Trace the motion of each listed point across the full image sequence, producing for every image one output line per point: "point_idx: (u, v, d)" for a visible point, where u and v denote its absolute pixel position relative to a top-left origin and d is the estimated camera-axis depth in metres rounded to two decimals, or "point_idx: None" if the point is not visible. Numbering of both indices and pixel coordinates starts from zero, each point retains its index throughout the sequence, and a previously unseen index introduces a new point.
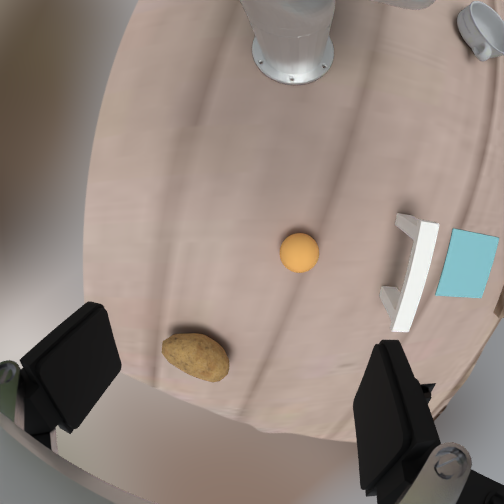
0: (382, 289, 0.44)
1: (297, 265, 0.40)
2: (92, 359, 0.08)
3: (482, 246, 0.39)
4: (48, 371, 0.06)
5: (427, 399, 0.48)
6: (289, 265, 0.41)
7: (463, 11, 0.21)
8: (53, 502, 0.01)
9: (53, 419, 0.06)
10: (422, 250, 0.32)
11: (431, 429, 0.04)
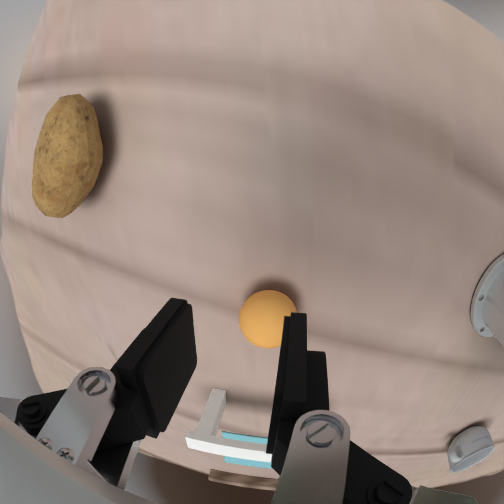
0: (222, 393, 0.36)
1: (256, 333, 0.25)
2: (180, 357, 0.09)
3: None
4: (149, 374, 0.06)
5: None
6: (253, 319, 0.25)
7: (488, 436, 0.29)
8: (53, 502, 0.01)
9: (145, 425, 0.06)
10: None
11: (304, 392, 0.06)
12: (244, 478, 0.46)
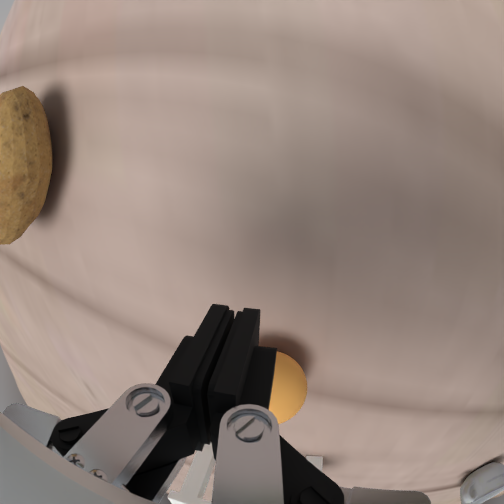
0: None
1: None
2: None
3: None
4: (204, 387, 0.06)
5: None
6: None
7: None
8: (53, 502, 0.01)
9: (195, 440, 0.06)
10: None
11: (237, 385, 0.06)
12: None
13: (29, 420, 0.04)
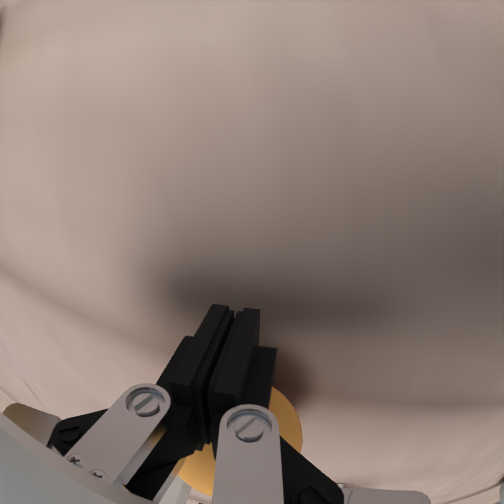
0: None
1: None
2: None
3: None
4: (204, 387, 0.06)
5: None
6: None
7: None
8: (53, 502, 0.01)
9: (195, 440, 0.06)
10: None
11: (237, 385, 0.06)
12: None
13: (29, 420, 0.04)
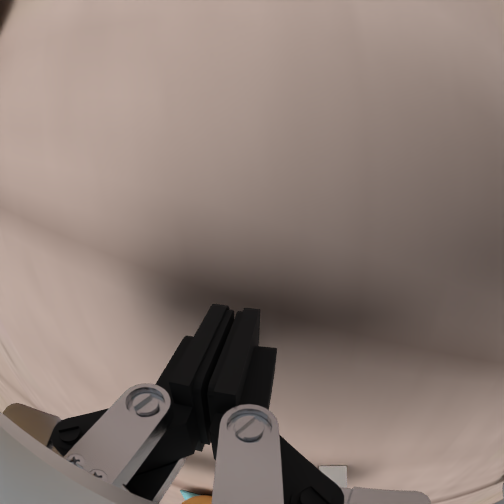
0: None
1: None
2: None
3: None
4: (204, 387, 0.06)
5: None
6: None
7: None
8: (53, 502, 0.01)
9: (195, 440, 0.06)
10: None
11: (237, 385, 0.06)
12: None
13: (29, 420, 0.04)
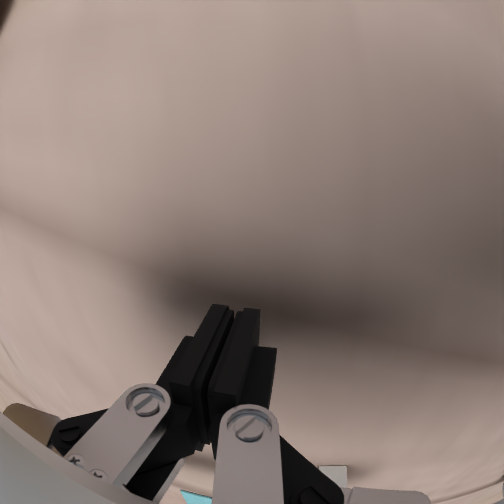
0: None
1: None
2: None
3: None
4: (204, 387, 0.06)
5: None
6: None
7: None
8: (53, 502, 0.01)
9: (195, 440, 0.06)
10: None
11: (237, 385, 0.06)
12: None
13: (29, 420, 0.04)
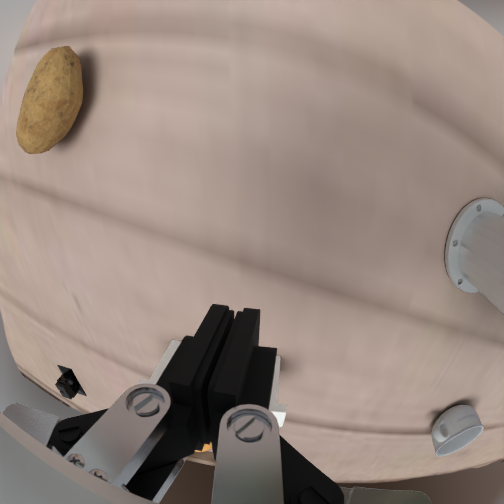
0: None
1: None
2: None
3: None
4: (204, 387, 0.06)
5: (67, 395, 0.42)
6: None
7: (476, 415, 0.31)
8: (53, 502, 0.01)
9: (195, 440, 0.06)
10: None
11: (237, 385, 0.06)
12: (212, 455, 0.46)
13: (29, 420, 0.04)
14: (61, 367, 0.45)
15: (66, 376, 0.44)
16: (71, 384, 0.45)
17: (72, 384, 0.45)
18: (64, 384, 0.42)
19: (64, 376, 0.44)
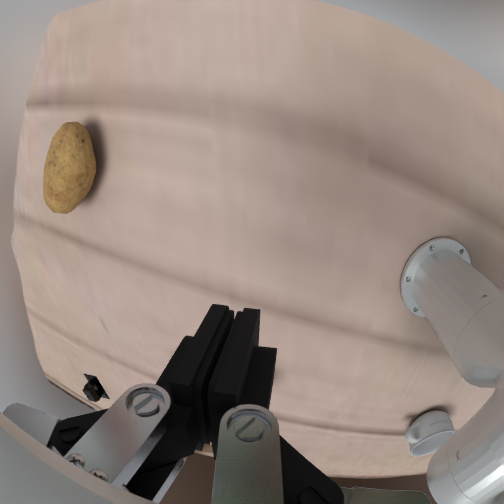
0: None
1: None
2: None
3: None
4: (204, 387, 0.06)
5: (93, 399, 0.53)
6: None
7: (448, 421, 0.38)
8: (53, 502, 0.01)
9: (195, 440, 0.06)
10: None
11: (237, 385, 0.06)
12: None
13: (29, 420, 0.04)
14: (87, 375, 0.56)
15: (92, 383, 0.55)
16: (96, 389, 0.56)
17: (97, 389, 0.56)
18: (90, 390, 0.53)
19: (90, 383, 0.55)
